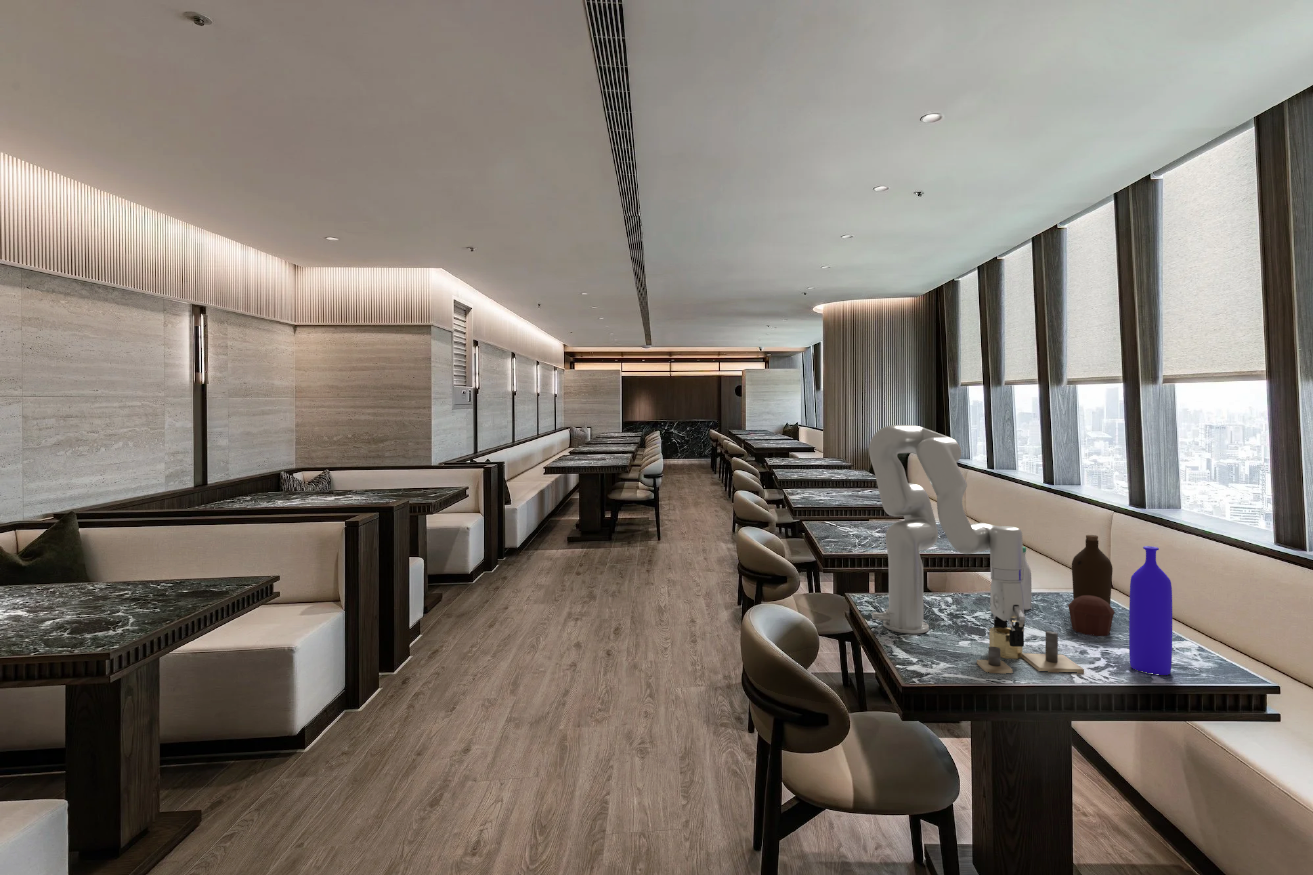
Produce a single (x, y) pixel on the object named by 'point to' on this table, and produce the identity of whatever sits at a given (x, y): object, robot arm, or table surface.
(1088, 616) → the muffin
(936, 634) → the table surface
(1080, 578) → the olive oil
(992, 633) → the brass ring
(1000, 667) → the short post
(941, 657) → the table surface
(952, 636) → the table surface
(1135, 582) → the bottle
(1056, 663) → the post stand
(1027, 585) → the milk bottle
